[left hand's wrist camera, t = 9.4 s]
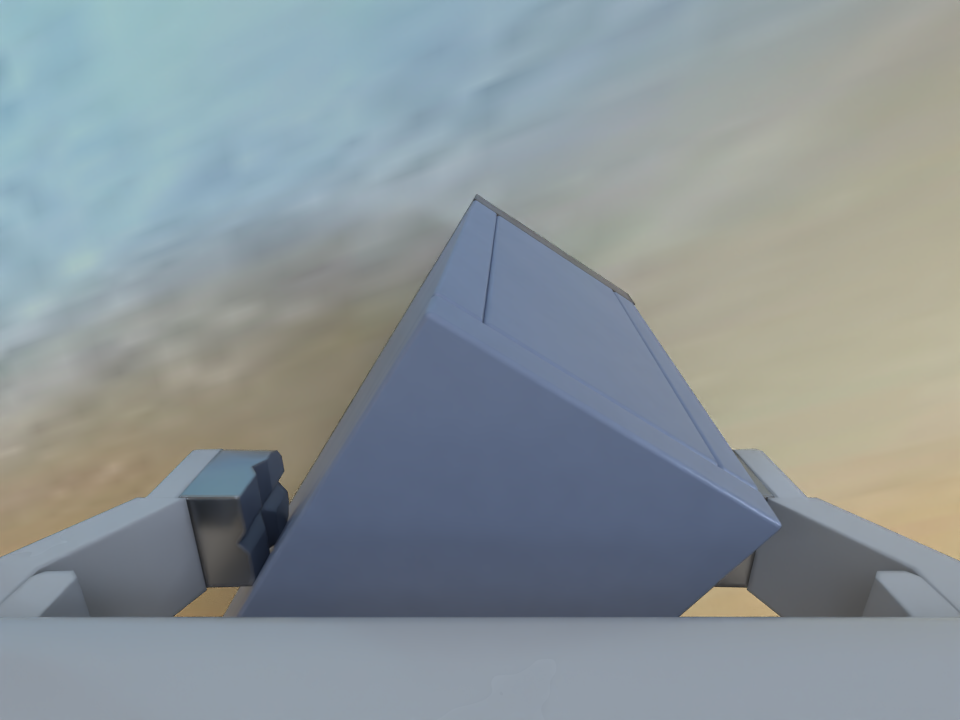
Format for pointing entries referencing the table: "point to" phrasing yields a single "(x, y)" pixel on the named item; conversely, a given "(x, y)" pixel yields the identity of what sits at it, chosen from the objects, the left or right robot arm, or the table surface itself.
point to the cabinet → (514, 458)
